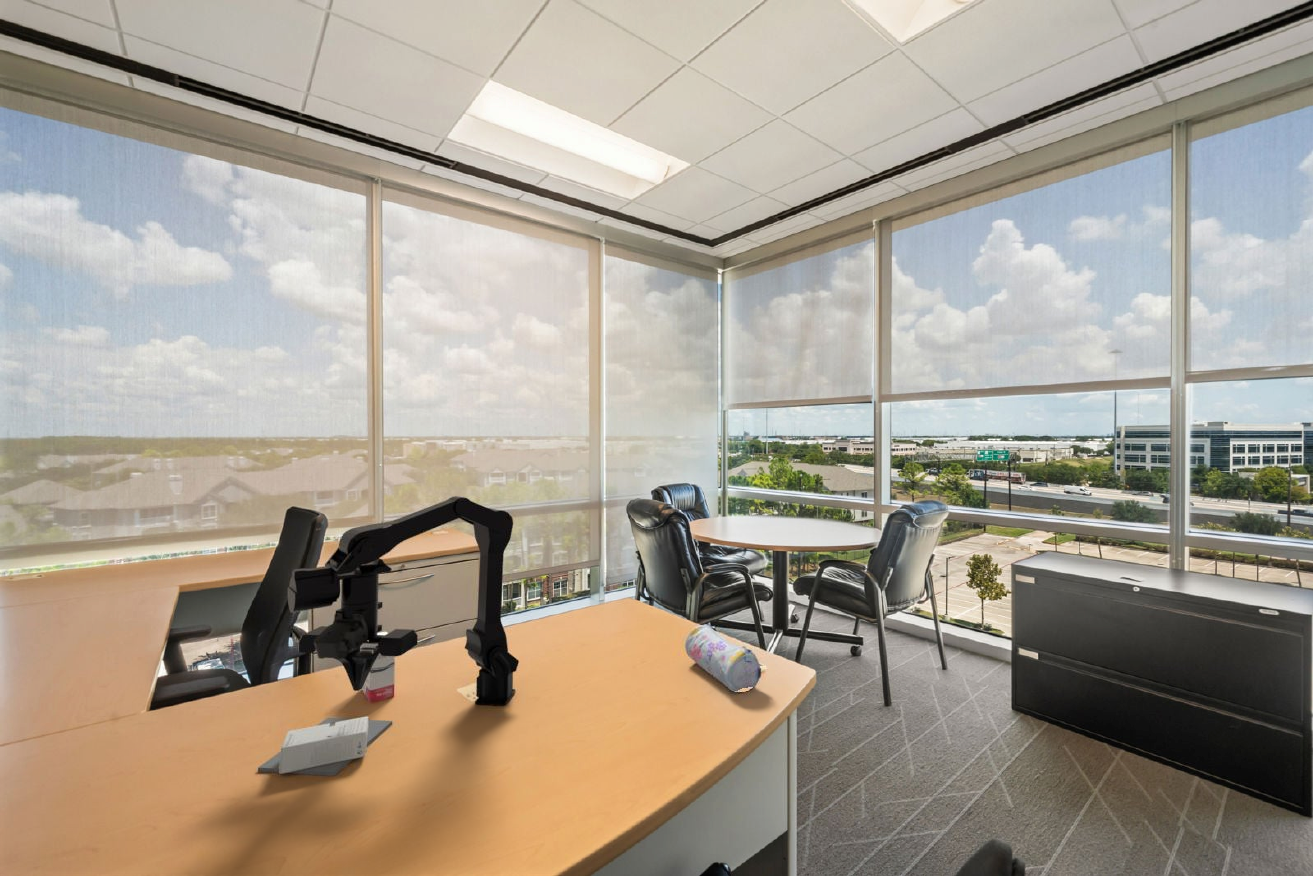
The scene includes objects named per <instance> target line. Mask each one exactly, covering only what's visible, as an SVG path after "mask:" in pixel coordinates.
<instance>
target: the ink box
mask: <svg viewBox="0 0 1313 876" xmlns="http://www.w3.org/2000/svg"><path fill="white" fill-rule="evenodd" d="M388 633H389V632H387V631H380V632H378V633H377V635H386V634H388ZM367 641H369V640H367ZM395 659H396V656H382V655H381V654H380V653H379V655H378V657H377V658H376V660H375V662H374V664H373V666H372V668H371V670H370V672H369V674H368V676H367V679H366V681H365V683H364V685H363V687H362V689H361V691H362V692H363V694H364V696H365V698H366V699H367V701H368V703H371V704H372V703H375V702H379V701H382V700H386V699H387V700H388V699H389V698H394V697H395V670H396V669H395V662H396V661H395Z"/></svg>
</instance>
